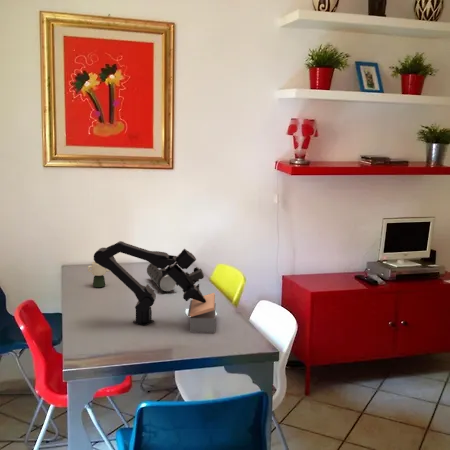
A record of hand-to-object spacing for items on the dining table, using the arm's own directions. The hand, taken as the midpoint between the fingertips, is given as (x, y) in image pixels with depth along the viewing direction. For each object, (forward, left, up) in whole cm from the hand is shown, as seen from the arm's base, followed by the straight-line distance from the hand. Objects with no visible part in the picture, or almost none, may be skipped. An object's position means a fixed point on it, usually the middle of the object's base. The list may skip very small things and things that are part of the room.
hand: (205, 301), depth 222 cm
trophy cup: (+9, +75, -10) cm, 77 cm away
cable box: (+3, +3, -10) cm, 11 cm away
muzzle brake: (+30, +51, -10) cm, 60 cm away
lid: (-1, +1, -2) cm, 2 cm away
